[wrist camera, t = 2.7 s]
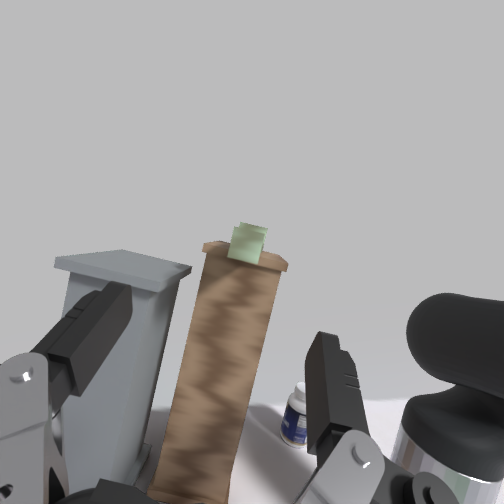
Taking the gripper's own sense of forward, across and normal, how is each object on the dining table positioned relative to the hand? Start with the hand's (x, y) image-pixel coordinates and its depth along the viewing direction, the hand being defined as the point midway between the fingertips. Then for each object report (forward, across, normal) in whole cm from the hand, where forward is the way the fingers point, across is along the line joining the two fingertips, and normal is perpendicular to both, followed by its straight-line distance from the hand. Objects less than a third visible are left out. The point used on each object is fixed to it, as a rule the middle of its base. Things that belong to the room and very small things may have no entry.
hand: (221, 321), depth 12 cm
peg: (+20, 0, +10) cm, 23 cm away
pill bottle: (+17, -16, +45) cm, 51 cm away
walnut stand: (+9, 0, +40) cm, 41 cm away
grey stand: (+3, +12, +37) cm, 39 cm away
